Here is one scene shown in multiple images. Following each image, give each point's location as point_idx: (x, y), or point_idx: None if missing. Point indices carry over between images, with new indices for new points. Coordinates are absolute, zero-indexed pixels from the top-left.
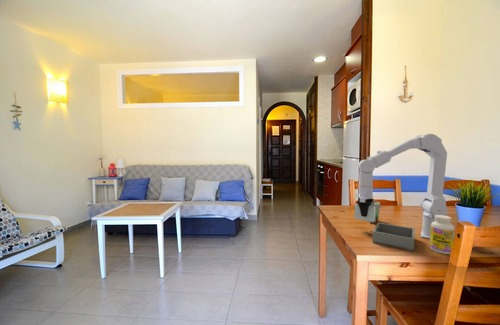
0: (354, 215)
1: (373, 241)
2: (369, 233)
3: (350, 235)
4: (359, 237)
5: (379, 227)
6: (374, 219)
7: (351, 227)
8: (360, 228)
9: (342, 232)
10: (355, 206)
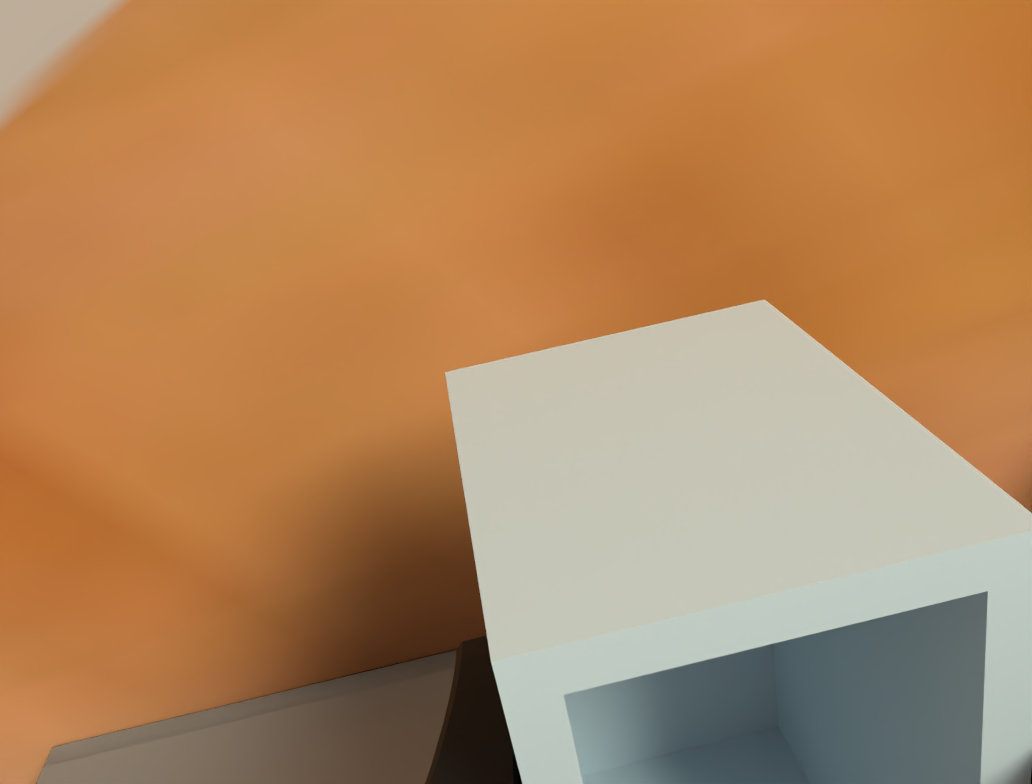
0: (453, 419)
1: (51, 774)
2: None
3: (24, 363)
4: (87, 524)
5: None
6: (667, 776)
7: (592, 122)
8: (667, 300)
9: (37, 142)
10: (499, 678)
